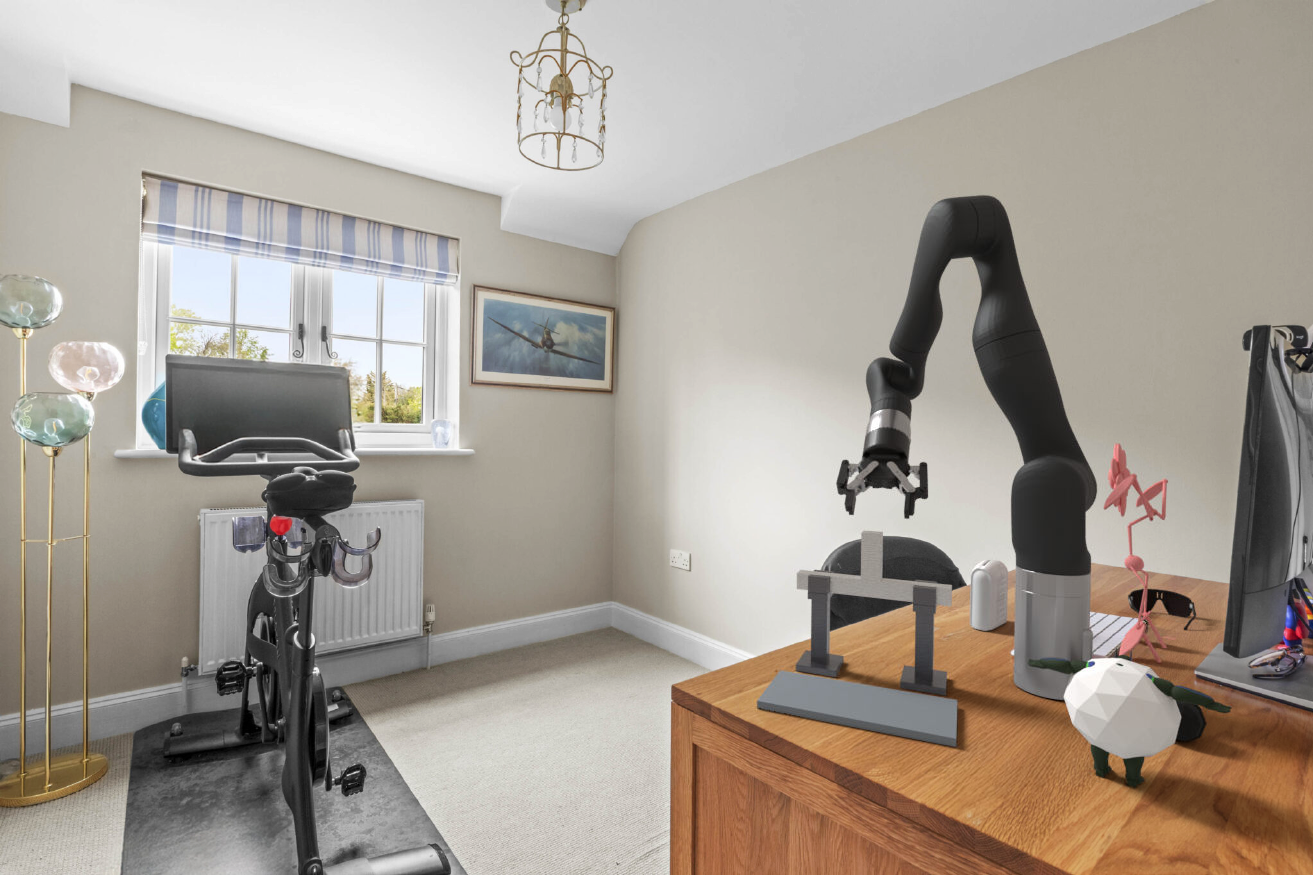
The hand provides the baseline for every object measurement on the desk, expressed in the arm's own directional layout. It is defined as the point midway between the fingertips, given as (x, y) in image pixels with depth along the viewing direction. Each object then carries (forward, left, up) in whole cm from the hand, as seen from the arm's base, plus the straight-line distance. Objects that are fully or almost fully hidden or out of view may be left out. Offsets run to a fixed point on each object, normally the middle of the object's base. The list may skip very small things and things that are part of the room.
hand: (878, 513), depth 105 cm
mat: (0, +20, -23) cm, 31 cm away
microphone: (-37, +5, -24) cm, 45 cm away
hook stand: (0, +7, -23) cm, 24 cm away
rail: (0, +7, -11) cm, 13 cm away
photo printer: (-17, -29, -24) cm, 41 cm away
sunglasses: (-48, -48, -24) cm, 72 cm away
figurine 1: (-36, -25, -24) cm, 50 cm away
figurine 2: (-28, +25, -24) cm, 44 cm away
